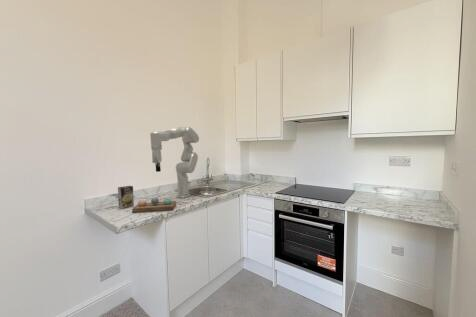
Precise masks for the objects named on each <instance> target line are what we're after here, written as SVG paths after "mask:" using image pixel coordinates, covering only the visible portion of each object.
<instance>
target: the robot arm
mask: <svg viewBox="0 0 476 317" xmlns="http://www.w3.org/2000/svg"><path fill="white" fill-rule="evenodd" d="M178 138H181V141H182V144H183V150H182V153H181V155H180V160H181V162H178V163H176V166H175V171H176V176H177V194H176V198H178V199H185V198H189V197H191V193H189V176H188V174H192V173H194V171H195V169H196V167H197V163H198V160H199V157H198V153H196V152H193V151H194V146H192V144H193V143H194V144H197V143H198V142H199V140H200V137H199V134H198V133H197V132H196V130H194V129H193V128H192V127H191V126H182V127H181V126H180V127H176V128H170V129H166V130H160V131H152V132H150V146H151V152H152V154H151V157H152V158H151V160H152V162H151V163H153V164H154V165H155V172H156V173H157V172H158V173H159V172H161V170H162V169H161V162H162V160H163V158H162V150H163V149H162V148H163V147H162V142H168V141H170V140H173V139H175V140H176V139H178Z"/></svg>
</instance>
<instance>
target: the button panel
mask: <svg viewBox="0 0 476 317" xmlns="http://www.w3.org/2000/svg"><path fill="white" fill-rule="evenodd" d="M176 202H177V201H176V200H175V201H173V200H171V204H169V205H164V201H162V202H161V201H160V202H159V203H157V204H151V202H146V205H145V206H139V203H137V204H136V205H134V206H133V208H132V209H131V212H132V214H140V213H141V214H142V213H143V214H144V213H154V212H169V211H172V212H173V211H174V209H175V208H176V206H177V203H176Z"/></svg>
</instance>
